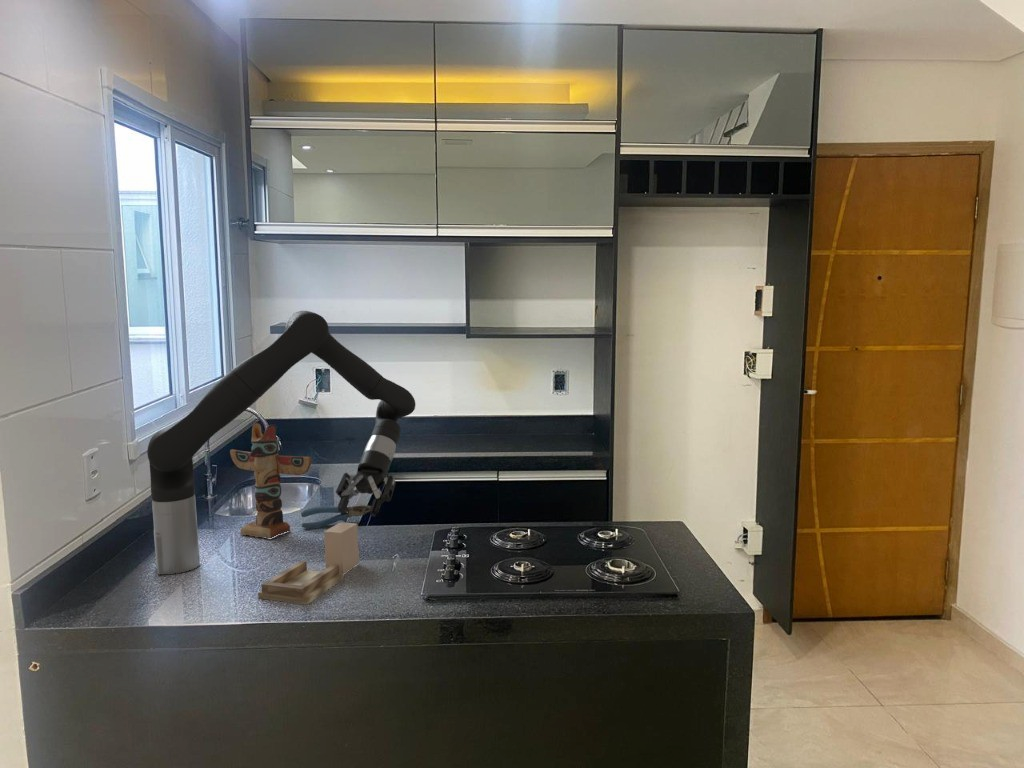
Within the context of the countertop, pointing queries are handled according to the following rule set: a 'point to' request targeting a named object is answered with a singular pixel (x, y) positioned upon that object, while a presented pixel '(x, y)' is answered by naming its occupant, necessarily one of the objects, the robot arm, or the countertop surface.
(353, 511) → the pliers
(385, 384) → the robot arm
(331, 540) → the clay block
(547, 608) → the countertop surface
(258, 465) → the totem pole
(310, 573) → the wooden rimmed tray
